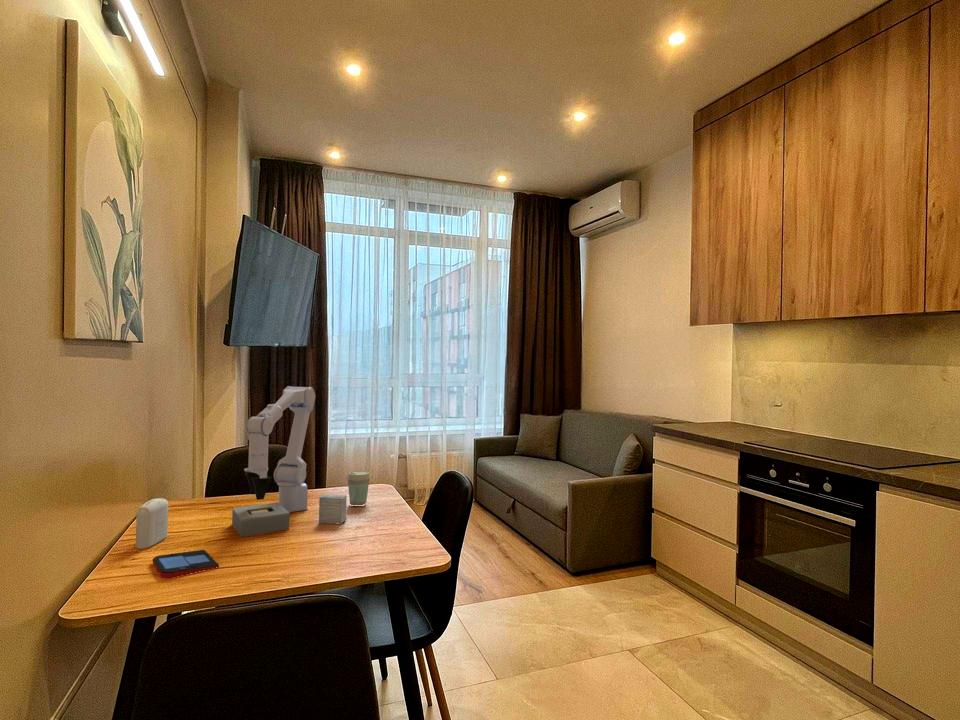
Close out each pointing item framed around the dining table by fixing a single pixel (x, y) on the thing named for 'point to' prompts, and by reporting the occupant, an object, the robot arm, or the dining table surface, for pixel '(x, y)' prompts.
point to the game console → (183, 563)
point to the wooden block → (259, 511)
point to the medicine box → (332, 508)
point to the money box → (260, 519)
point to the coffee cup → (358, 487)
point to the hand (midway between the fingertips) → (257, 496)
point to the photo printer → (151, 523)
